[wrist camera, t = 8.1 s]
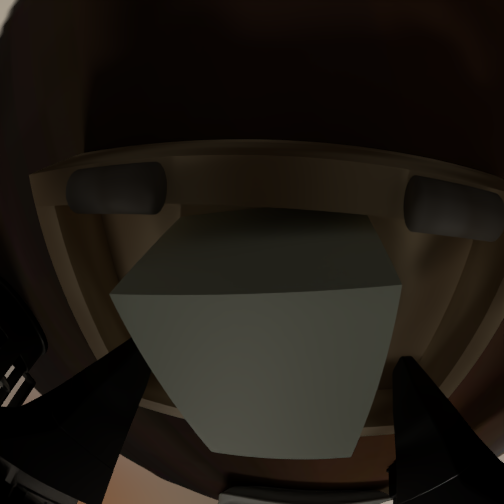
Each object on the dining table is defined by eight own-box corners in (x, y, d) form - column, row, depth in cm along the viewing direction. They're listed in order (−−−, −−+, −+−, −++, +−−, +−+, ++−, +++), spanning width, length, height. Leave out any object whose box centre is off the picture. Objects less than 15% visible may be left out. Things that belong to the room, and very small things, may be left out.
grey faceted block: (358, 200, 8) (402, 284, 4) (347, 376, 12) (350, 456, 8) (180, 216, 10) (109, 294, 6) (232, 377, 14) (211, 451, 10)
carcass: (497, 176, 7) (569, 222, 3) (409, 387, 14) (419, 448, 10) (83, 153, 10) (4, 186, 6) (142, 362, 16) (114, 415, 12)
